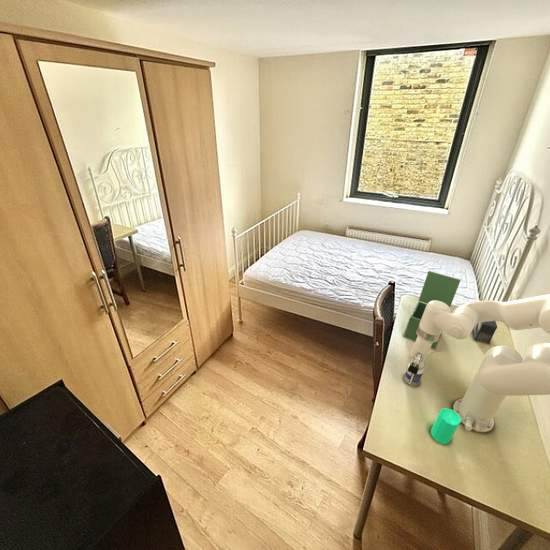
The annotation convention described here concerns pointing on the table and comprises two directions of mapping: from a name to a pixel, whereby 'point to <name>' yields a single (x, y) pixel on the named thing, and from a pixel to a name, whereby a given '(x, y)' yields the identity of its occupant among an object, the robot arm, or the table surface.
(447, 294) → the lid
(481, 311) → the robot arm
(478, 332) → the small box
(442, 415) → the candle
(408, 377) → the pill bottle
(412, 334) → the chest
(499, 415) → the table surface
